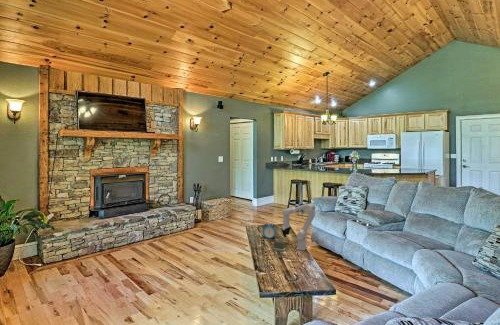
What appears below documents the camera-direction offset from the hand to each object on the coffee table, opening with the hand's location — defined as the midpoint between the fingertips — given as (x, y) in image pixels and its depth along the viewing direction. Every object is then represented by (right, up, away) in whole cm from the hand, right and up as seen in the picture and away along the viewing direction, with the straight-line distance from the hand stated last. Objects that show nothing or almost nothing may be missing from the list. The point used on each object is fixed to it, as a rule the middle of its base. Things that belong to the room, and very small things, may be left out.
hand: (286, 235), depth 274 cm
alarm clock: (-15, -9, +23) cm, 29 cm away
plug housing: (-9, -9, -11) cm, 16 cm away
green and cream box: (-8, -10, -11) cm, 17 cm away
